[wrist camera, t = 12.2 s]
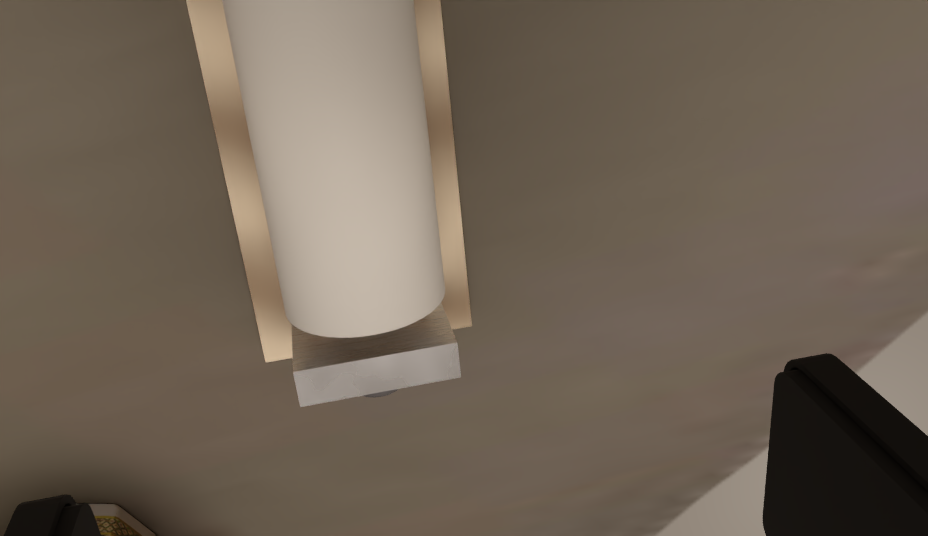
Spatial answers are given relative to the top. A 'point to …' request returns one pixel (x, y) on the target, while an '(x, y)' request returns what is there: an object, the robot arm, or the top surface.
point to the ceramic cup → (117, 521)
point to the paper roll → (341, 159)
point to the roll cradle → (314, 357)
